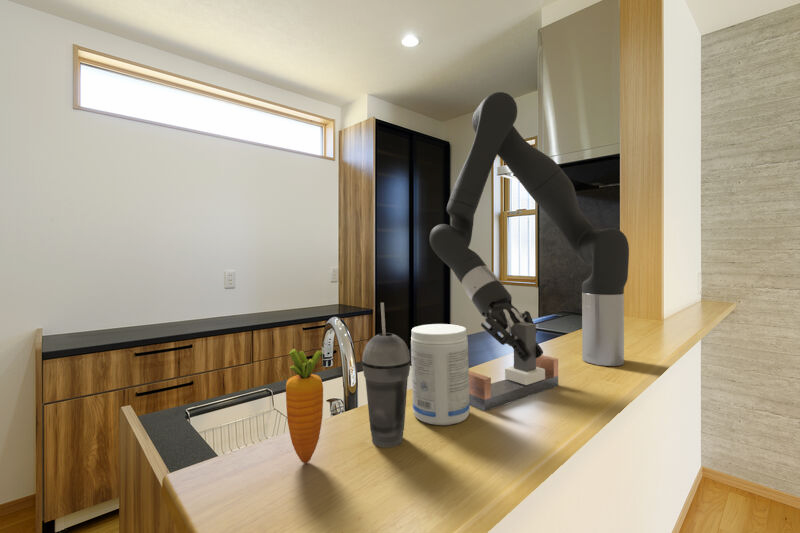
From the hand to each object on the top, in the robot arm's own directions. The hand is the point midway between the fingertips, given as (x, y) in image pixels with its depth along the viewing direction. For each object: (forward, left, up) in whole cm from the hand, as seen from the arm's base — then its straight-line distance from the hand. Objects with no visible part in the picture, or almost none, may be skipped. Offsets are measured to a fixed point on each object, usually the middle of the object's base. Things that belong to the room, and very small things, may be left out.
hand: (533, 357), depth 73 cm
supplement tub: (+21, -3, -7) cm, 23 cm away
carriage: (0, -2, -5) cm, 5 cm away
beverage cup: (+33, -1, -7) cm, 34 cm away
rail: (+3, -2, -7) cm, 8 cm away
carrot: (+45, -2, -7) cm, 46 cm away
